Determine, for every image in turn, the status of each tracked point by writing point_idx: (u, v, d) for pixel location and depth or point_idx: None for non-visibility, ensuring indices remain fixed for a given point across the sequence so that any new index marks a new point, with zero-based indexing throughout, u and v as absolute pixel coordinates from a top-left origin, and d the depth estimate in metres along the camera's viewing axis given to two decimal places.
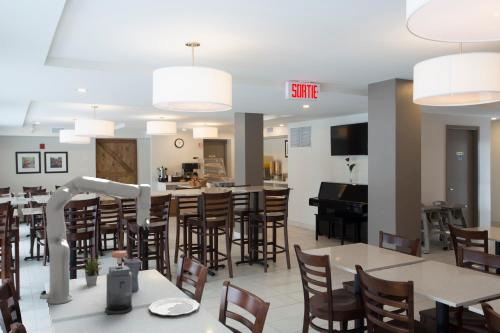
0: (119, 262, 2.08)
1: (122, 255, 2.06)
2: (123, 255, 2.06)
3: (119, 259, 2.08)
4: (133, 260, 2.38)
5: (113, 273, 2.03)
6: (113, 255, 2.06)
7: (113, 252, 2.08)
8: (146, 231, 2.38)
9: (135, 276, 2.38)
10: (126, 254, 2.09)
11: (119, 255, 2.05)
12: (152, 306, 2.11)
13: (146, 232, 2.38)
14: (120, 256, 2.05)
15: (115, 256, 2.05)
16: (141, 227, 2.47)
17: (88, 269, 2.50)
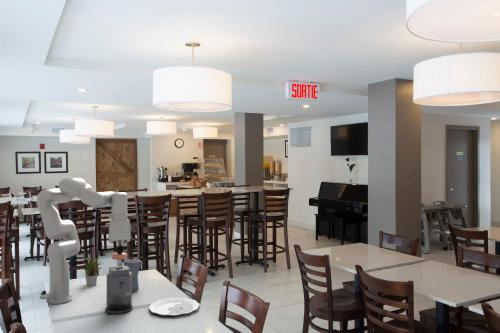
0: (119, 264, 2.08)
1: (122, 257, 2.06)
2: (123, 257, 2.06)
3: (119, 261, 2.08)
4: (133, 260, 2.38)
5: (113, 273, 2.03)
6: (113, 257, 2.06)
7: (113, 254, 2.08)
8: None
9: (135, 276, 2.38)
10: (126, 256, 2.09)
11: (119, 257, 2.05)
12: (152, 306, 2.11)
13: None
14: (120, 258, 2.05)
15: (115, 258, 2.05)
16: None
17: (88, 269, 2.50)
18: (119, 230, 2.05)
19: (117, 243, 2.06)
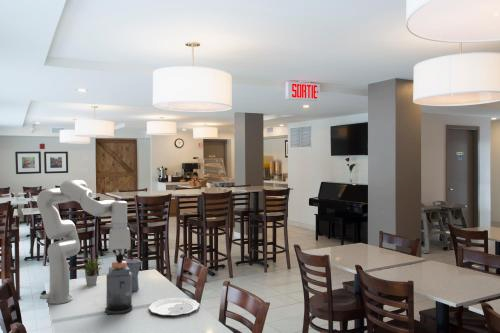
0: None
1: (122, 265, 2.06)
2: (123, 265, 2.06)
3: None
4: (133, 260, 2.38)
5: (113, 273, 2.03)
6: (113, 265, 2.06)
7: (113, 262, 2.08)
8: None
9: (135, 276, 2.38)
10: (126, 264, 2.09)
11: (119, 265, 2.05)
12: (152, 306, 2.11)
13: None
14: (120, 266, 2.05)
15: (115, 266, 2.05)
16: None
17: (88, 269, 2.50)
18: (119, 239, 2.06)
19: (117, 252, 2.06)
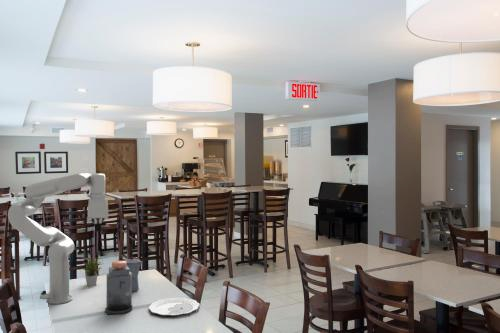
0: None
1: (122, 265, 2.06)
2: (123, 265, 2.06)
3: None
4: (133, 260, 2.38)
5: (113, 273, 2.03)
6: (113, 265, 2.06)
7: (113, 262, 2.08)
8: (100, 224, 2.24)
9: (135, 276, 2.38)
10: (126, 264, 2.09)
11: (119, 265, 2.05)
12: (152, 306, 2.11)
13: (100, 225, 2.24)
14: (120, 266, 2.05)
15: (115, 266, 2.05)
16: None
17: (88, 269, 2.50)
18: (97, 208, 2.20)
19: (95, 220, 2.21)
